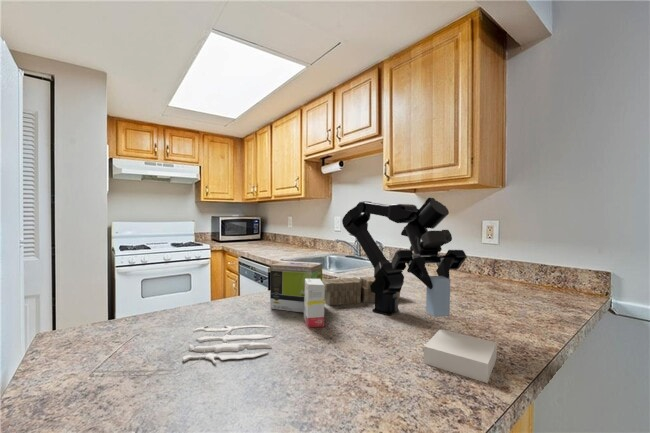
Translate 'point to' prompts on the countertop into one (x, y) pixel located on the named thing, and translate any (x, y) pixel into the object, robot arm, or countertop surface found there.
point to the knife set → (219, 345)
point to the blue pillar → (438, 297)
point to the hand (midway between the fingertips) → (439, 288)
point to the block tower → (349, 290)
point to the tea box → (291, 283)
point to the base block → (461, 354)
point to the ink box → (314, 303)
